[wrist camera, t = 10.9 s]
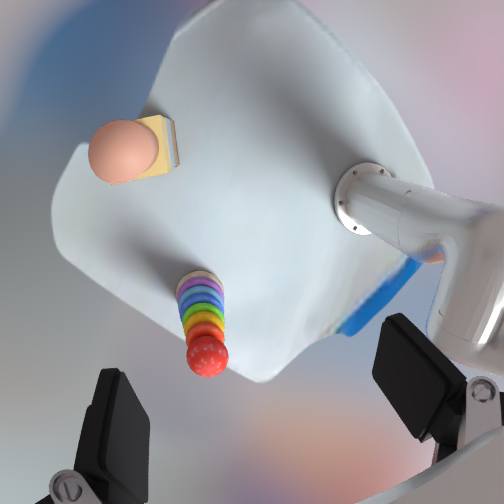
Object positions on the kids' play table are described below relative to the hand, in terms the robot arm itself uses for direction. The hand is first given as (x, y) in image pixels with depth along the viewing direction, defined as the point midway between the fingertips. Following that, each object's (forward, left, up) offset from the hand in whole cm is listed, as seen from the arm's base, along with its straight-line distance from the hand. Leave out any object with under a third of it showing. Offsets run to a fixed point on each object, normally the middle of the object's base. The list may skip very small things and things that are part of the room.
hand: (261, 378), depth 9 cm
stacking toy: (+4, +16, -36) cm, 40 cm away
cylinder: (+7, -8, -21) cm, 24 cm away
